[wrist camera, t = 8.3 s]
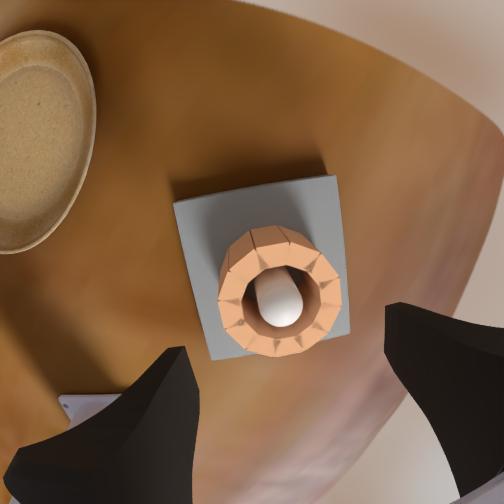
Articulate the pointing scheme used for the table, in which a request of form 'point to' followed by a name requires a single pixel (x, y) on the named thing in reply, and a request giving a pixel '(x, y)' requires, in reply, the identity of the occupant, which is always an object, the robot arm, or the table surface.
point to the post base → (254, 213)
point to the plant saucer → (42, 134)
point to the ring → (311, 289)
